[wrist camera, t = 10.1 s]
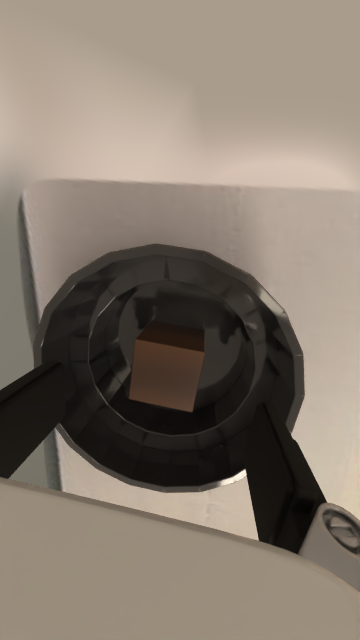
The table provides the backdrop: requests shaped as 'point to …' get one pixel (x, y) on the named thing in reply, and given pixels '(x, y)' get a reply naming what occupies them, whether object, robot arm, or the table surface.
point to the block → (167, 365)
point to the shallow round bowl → (215, 379)
